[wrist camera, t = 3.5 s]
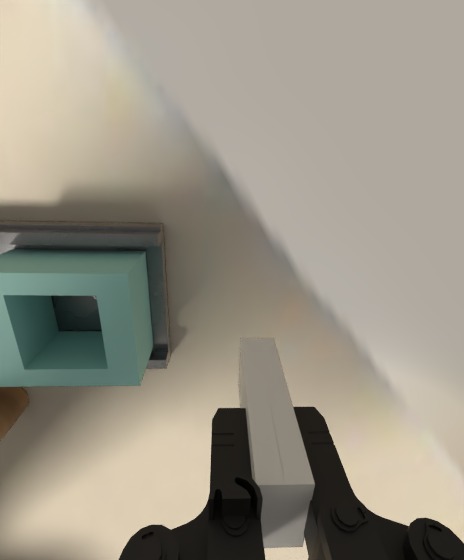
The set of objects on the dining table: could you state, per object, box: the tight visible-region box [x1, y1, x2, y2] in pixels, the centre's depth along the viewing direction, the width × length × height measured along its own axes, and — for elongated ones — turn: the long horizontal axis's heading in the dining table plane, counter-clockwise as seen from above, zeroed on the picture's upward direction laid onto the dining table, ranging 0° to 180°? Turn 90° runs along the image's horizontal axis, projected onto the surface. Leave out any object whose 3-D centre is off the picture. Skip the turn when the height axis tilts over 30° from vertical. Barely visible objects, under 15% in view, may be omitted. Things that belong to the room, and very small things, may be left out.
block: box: [0, 249, 153, 387], centre depth 18 cm, size 8×7×4 cm
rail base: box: [0, 221, 171, 369], centre depth 18 cm, size 18×10×7 cm, turn 89°
